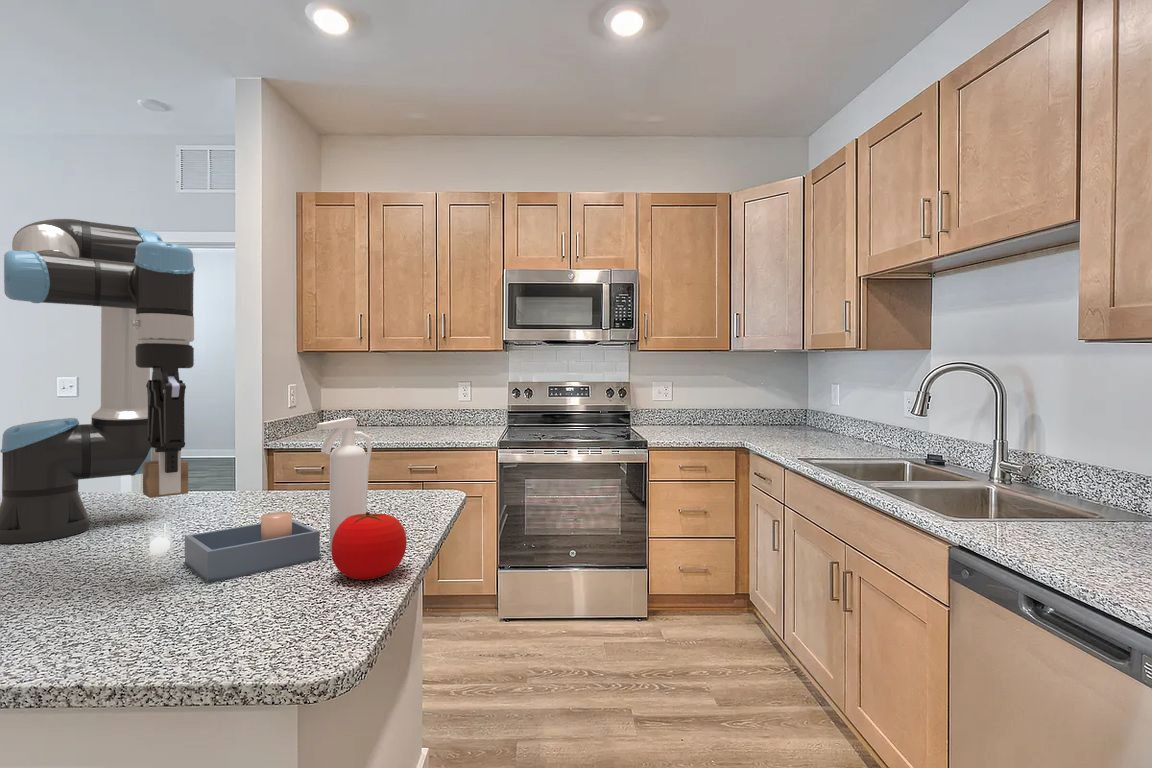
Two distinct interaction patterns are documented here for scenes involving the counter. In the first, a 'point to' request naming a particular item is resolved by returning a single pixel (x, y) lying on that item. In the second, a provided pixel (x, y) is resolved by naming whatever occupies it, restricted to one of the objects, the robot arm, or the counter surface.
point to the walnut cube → (153, 479)
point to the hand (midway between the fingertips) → (165, 490)
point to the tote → (248, 551)
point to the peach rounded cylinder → (276, 525)
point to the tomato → (368, 545)
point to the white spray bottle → (346, 471)
